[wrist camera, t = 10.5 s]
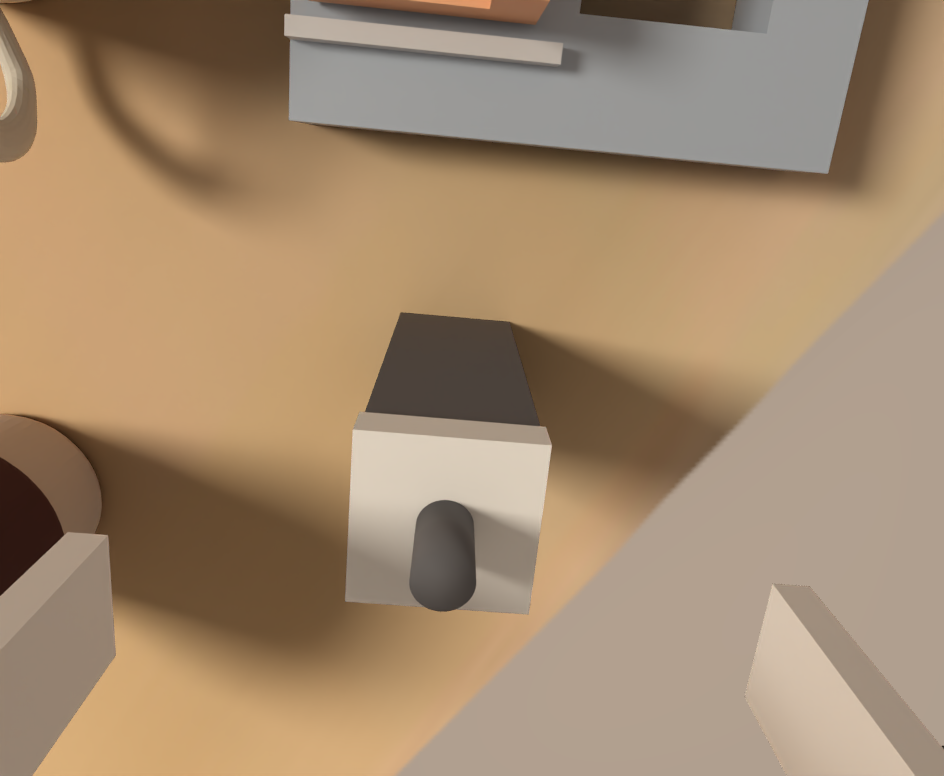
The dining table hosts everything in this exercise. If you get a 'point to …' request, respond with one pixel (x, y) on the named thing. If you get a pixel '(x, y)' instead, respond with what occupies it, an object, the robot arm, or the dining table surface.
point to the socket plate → (587, 79)
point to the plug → (447, 472)
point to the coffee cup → (40, 494)
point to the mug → (16, 96)
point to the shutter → (462, 8)
